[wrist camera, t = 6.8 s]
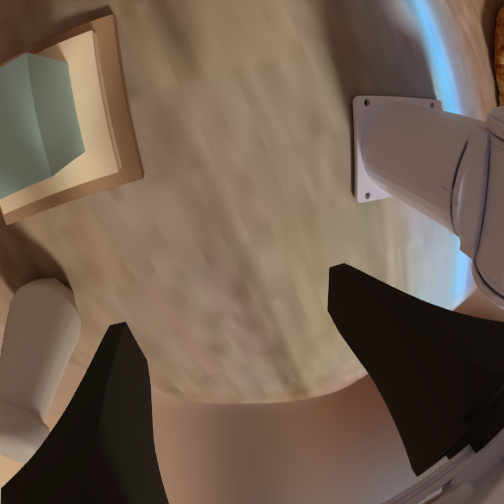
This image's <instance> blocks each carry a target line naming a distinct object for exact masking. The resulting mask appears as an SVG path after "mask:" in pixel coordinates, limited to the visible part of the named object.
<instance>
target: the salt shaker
mask: <svg viewBox="0 0 504 504" xmlns="http://www.w3.org/2000/svg"><path fill="white" fill-rule="evenodd" d="M80 330H81V317H80V315H79V312H78V309H77V307H76V303H75V298H74V293H73V291H71V290H70V289H69V288H67V287H66V286H65V285H64V284H62V283H61V282H60V281H59V280H57V279H56V278H45V279H36V280H33V281H31V282H29V283H27V284H25V285H23V286H21V287H20V288H19V289H18V290H17V291H16V293H15V295H14V297H13V298H12V300H11V303H10V308H9V312H8V317H7V321H6V326H5V332H4V337H3V343H2V349H1V356H0V454H2V455H4V456H6V457H8V458H10V459H12V460H14V461H16V462H20V463H24V464H26V463H27V462H28V461H29V459H30V458H31V457H32V456H33V455H34V453H35V452H36V451H37V450H38V449H39V447H40V446H41V445H42V443H43V442H44V440H45V439H46V438H47V436H48V435H49V434H50V431H49V428H48V427H47V425H46V424H45V423H44V422H45V419H46V417H47V414H48V411H49V408H50V406H51V403H52V400H53V398H54V395H55V392H56V390H57V388H58V385H59V383H60V380H61V378H62V375H63V373H64V370H65V368H66V366H67V364H68V361H69V359H70V357H71V355H72V352H73V350H74V348H75V346H76V344H77V341H78V339H79V337H80Z"/></svg>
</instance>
